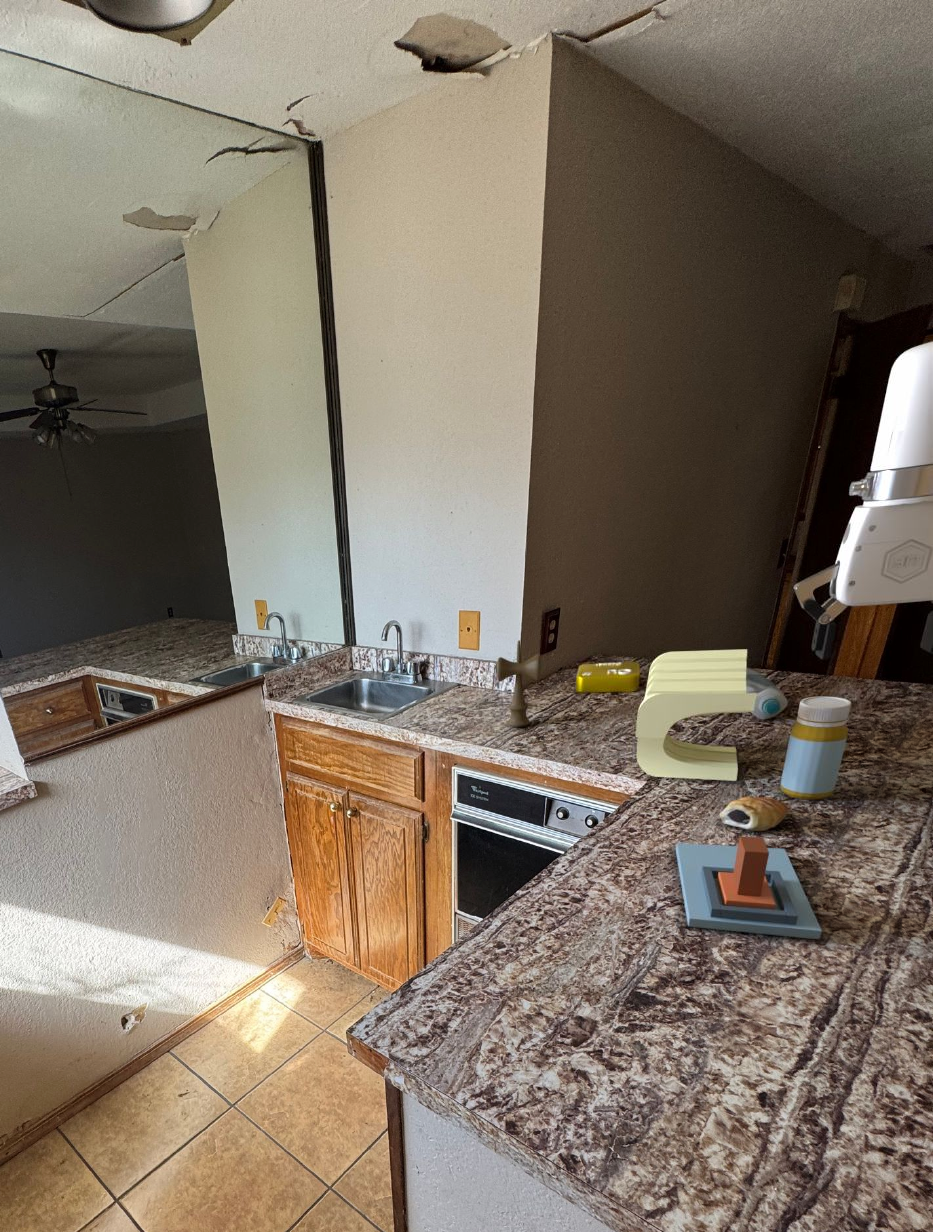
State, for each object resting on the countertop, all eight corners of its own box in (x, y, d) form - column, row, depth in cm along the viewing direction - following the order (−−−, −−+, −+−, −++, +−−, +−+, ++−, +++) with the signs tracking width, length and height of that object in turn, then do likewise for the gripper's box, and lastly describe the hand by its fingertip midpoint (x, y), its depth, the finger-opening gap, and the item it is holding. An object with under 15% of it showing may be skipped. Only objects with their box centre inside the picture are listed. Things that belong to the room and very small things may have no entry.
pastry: (755, 805, 104) (760, 783, 102) (800, 819, 98) (805, 796, 96) (714, 822, 101) (718, 799, 99) (757, 837, 95) (762, 814, 93)
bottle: (778, 798, 105) (796, 707, 98) (780, 782, 110) (797, 695, 103) (833, 803, 101) (855, 709, 94) (832, 786, 106) (854, 696, 99)
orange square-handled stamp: (762, 884, 82) (773, 832, 79) (773, 914, 77) (785, 859, 73) (717, 881, 84) (725, 830, 81) (724, 910, 79) (733, 856, 75)
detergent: (702, 694, 156) (729, 724, 135) (709, 664, 153) (737, 690, 132) (765, 695, 152) (803, 726, 131) (774, 665, 149) (813, 691, 128)
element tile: (638, 677, 177) (639, 659, 175) (638, 692, 165) (640, 673, 163) (578, 679, 184) (579, 662, 181) (575, 693, 172) (575, 675, 170)
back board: (783, 856, 90) (786, 840, 89) (819, 939, 74) (824, 922, 72) (675, 850, 95) (677, 835, 94) (688, 926, 79) (690, 910, 78)
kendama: (539, 728, 151) (541, 641, 142) (496, 730, 154) (495, 644, 145) (540, 720, 156) (542, 635, 147) (498, 722, 159) (497, 639, 150)
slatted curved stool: (642, 737, 136) (651, 652, 129) (732, 740, 129) (747, 649, 121) (630, 793, 114) (639, 693, 106) (738, 800, 106) (756, 692, 98)
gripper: (819, 500, 67) (789, 666, 74) (1049, 469, 60) (991, 656, 67) (801, 498, 73) (776, 652, 80) (1008, 470, 66) (959, 641, 74)
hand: (874, 653), depth 74 cm, fingers open, 9 cm apart
